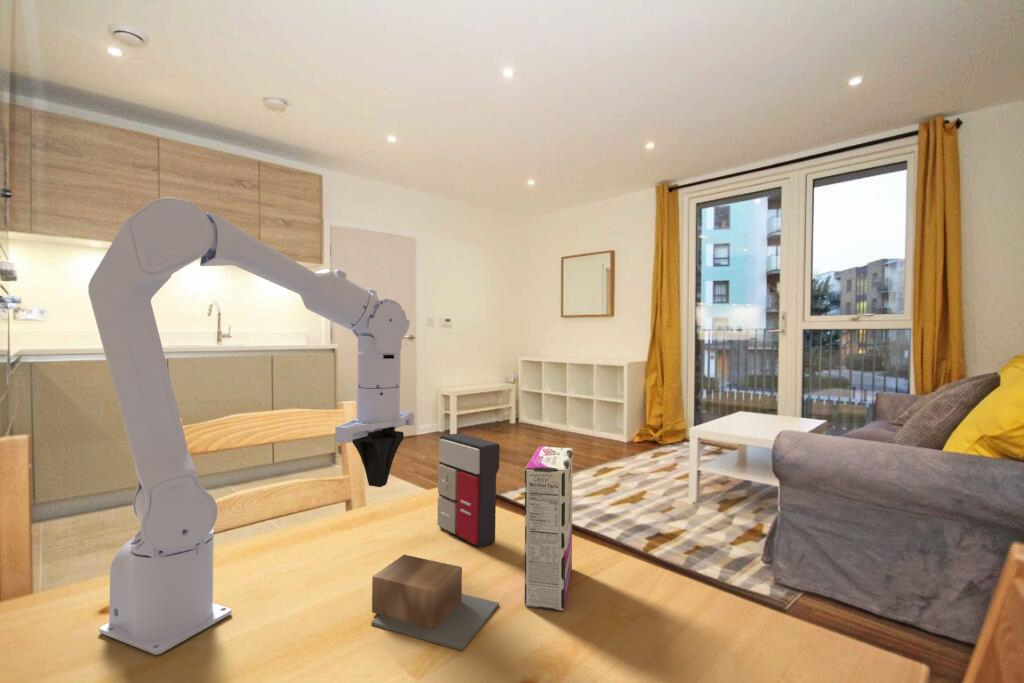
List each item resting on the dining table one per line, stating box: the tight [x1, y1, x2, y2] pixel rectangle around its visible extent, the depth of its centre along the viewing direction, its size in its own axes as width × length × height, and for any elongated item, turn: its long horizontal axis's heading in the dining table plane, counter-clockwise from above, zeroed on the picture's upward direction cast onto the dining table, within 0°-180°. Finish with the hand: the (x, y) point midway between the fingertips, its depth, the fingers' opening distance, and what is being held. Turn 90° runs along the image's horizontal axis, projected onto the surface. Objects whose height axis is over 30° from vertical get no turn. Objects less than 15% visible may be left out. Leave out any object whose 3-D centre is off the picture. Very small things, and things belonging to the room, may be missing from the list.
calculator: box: [436, 433, 501, 548], centre depth 76 cm, size 11×4×15 cm, turn 43°
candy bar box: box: [524, 445, 574, 612], centre depth 61 cm, size 11×5×16 cm, turn 168°
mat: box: [371, 593, 500, 652], centre depth 54 cm, size 11×9×1 cm
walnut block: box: [371, 554, 463, 630], centre depth 55 cm, size 4×6×8 cm
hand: (377, 485), depth 67 cm, fingers closed
